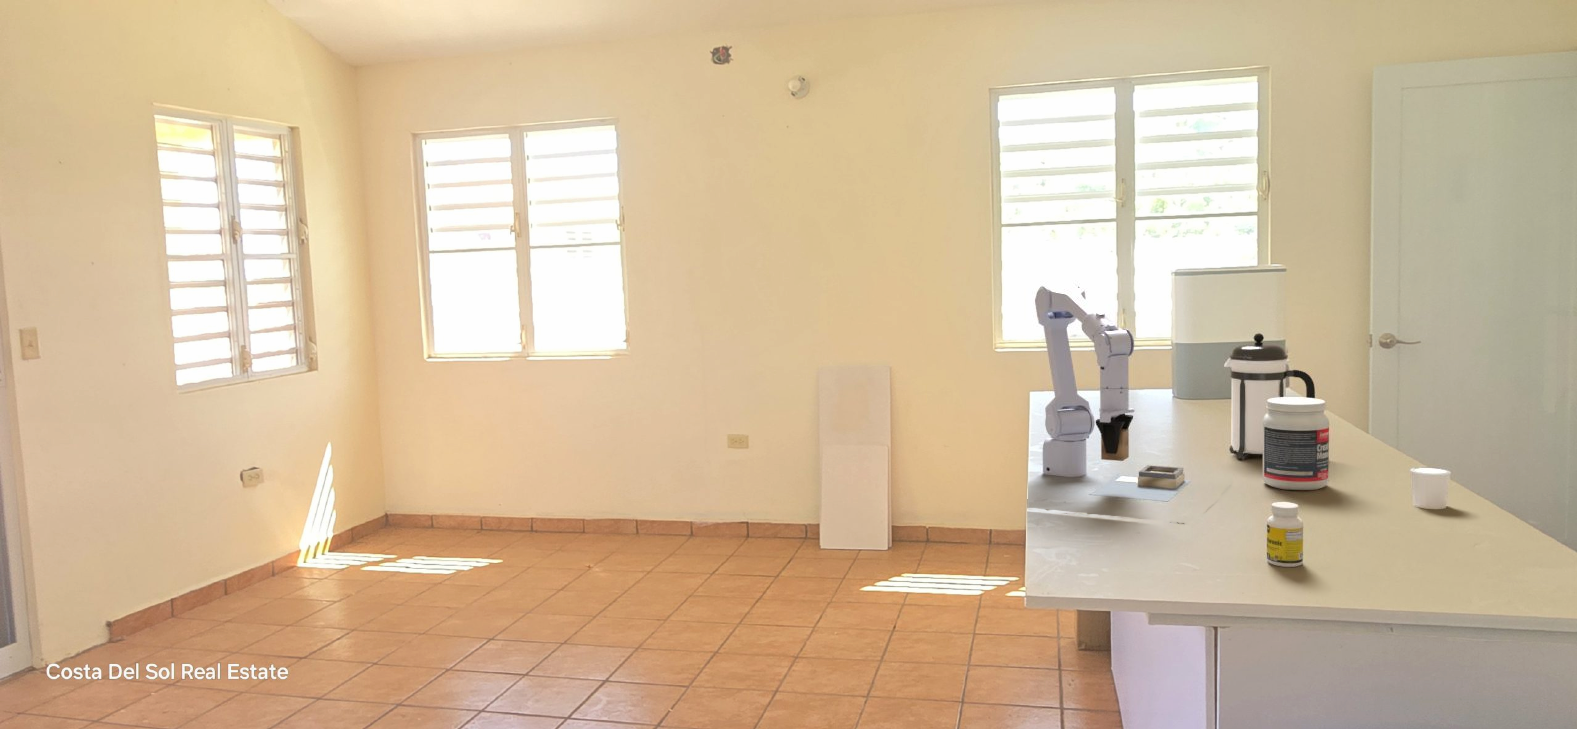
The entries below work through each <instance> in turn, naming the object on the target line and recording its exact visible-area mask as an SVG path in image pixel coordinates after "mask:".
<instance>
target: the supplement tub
mask: <svg viewBox="0 0 1577 729" xmlns="http://www.w3.org/2000/svg"><path fill="white" fill-rule="evenodd" d="M1266 408H1268V411H1269V412H1268V413H1267V414H1266V415H1265V416H1264V418H1263V454H1262V480H1263V482H1264V483H1265V484H1266V485H1268V486H1270V487H1273V488H1276V489H1279V490H1288V491H1289V490H1290V491H1314V490H1319V489H1322V488H1324V487H1326V486H1327V484H1329V473H1330V472H1329V467H1330V466H1329V465H1330V461H1329V460H1330V458H1329V457H1330V420H1329V418H1328V416H1327V415H1326V414H1325V410H1327V407H1326V401H1325V400H1324V399H1319V398H1315V399H1314V398H1306V397H1300V396H1299V397H1298V396H1297V397H1296V396H1295V397H1293V396H1286V397H1279V398H1271V399H1268V400H1267V406H1266Z"/></svg>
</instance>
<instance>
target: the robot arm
mask: <svg viewBox="0 0 1577 729" xmlns="http://www.w3.org/2000/svg"><path fill="white" fill-rule="evenodd" d="M1034 304H1035V310H1036V311H1035V312H1036V317H1037V321H1038V324H1039V325H1041V327H1042V326H1043V332H1044V337H1045V338H1044V339H1045V342H1046V344H1045V345H1046V350H1047V356H1048V361H1049V368H1050V374H1051V380H1052V386H1053V392H1054V398H1053V399H1052V400H1051V401H1050V402H1049V403H1048V404H1047V405H1046V406H1045V408H1044V409H1045V410H1044V411H1045V419H1044V420H1045V421H1044V422H1045V423H1044V426H1045V430H1046V432H1047V434H1048V435H1049V437H1046V438H1045V439H1044V441H1043V445H1042V475H1048V476H1051V475H1052V476H1061V477H1067V478H1068V477H1070V478H1071V477H1072V478H1074V477H1083V476H1086V475H1087V439H1090V436H1091V434H1092V433H1093V431H1094V429H1095V425H1096V427H1097V428H1098V430H1099V432H1100V437H1101V436H1102V439H1103V443H1104V447H1105V451H1106V453H1110V454H1116V453H1117V450H1118V444H1119V437H1120V432H1121V429H1129V427H1130V425H1131V423H1132V421H1133V419H1134V415H1132V414H1128V413H1135V408H1134V407H1129V406H1130V404H1129V402H1130V401H1129V399H1130V398H1129V389H1130V388H1129V384H1130V383H1129V357H1130V356H1132V354H1133V352H1134V349H1135V340H1134V336H1133V334H1132V332H1131V331H1130V330H1129V329H1128V328H1118V326H1116V325H1115V324H1114V323H1113V322H1112V320H1110V319H1109V317H1107V316H1106V314H1105V313H1104V312H1103V311H1095V310H1094V309H1093V308H1092V307H1091V305H1090V304H1089V303H1088V302H1087V300H1086V290H1085V289H1084V288H1083V287H1082V286H1081V285H1080V284H1075V283H1074V284H1072V285H1052V286H1046V285H1041V286H1040V287H1039V288H1038V290H1037V291H1036V295H1035V298H1034ZM1076 320H1078V321H1079V322H1080V323H1081V330H1082V332H1083V334H1084V335H1086V336H1087V338H1089V339H1090V341H1091V342H1092V343H1093V348H1094V352H1095V355H1096V358H1097V360H1096V363H1097V366H1099V382H1100V383H1099V389H1100V390H1099V393H1100V394H1099V395H1100V396H1099V399H1100V402H1099V403H1100V404H1099V410H1098V412H1099V418H1097V419H1095V417H1094V414H1093V412H1092V409H1091V407H1090V404H1089V403H1090V402H1089V401H1088V400H1087V399H1085V398H1084V397H1082V396H1081V395H1079V394H1078V389H1077V383H1076V378H1075V371H1074V365H1073V360H1072V359H1073V358H1072V352H1071V348H1070V347H1071V346H1070V341H1069V335H1068V330H1067V329H1068V327H1069V325H1071V324H1072V323H1074V322H1076Z"/></svg>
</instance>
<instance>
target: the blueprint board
mask: <svg viewBox="0 0 1577 729" xmlns="http://www.w3.org/2000/svg"><path fill="white" fill-rule="evenodd" d="M1185 477H1186V476H1185V471H1184V467H1180V466H1179V467H1177V466H1163V465H1153V464H1152V465H1151V464H1150V465H1149V464H1147V465H1146V466H1145V467H1143V468H1142V469H1141V470H1139V471H1138V474H1137V475H1134V474H1124V473H1121V474H1120V473H1117V474H1116V475H1114V476H1113V477H1112V478H1110V479H1109V480H1107V481H1105V482H1104V483H1103V484H1102V485H1100V486H1099V487H1097V488H1096V489H1095V490H1093V491H1092V492H1090V493H1089V494H1088V495H1090V496H1097V497H1098V496H1101V497H1111V498H1112V497H1113V498H1121V499H1133V500H1134V499H1135V500H1143V501H1146V500H1147V501H1157V502H1169V501H1171V500H1172V498H1173V497H1175V496H1176V495H1177V493H1179V492H1180V491H1181V490H1182V489H1183V488H1185V486H1187V485H1188V484H1189V483H1190V482H1191V481H1192V479H1190V478H1189V479H1188V478H1187V479H1185Z"/></svg>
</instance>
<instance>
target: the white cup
mask: <svg viewBox="0 0 1577 729" xmlns="http://www.w3.org/2000/svg"><path fill="white" fill-rule="evenodd" d="M1409 473H1410V484H1411V486H1410V487H1411V496H1412V498H1411V499H1412V506H1414V507H1416V508H1421V509H1426V510H1427V509H1428V510H1441V509H1446V508H1447V504H1448V496H1449V490H1450V482H1451V476H1452V475H1451V474H1452V472H1451V471H1450V470H1448V469H1444V468H1437V467H1429V466H1427V467H1426V466H1422V467H1412V468H1410V471H1409Z"/></svg>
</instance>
